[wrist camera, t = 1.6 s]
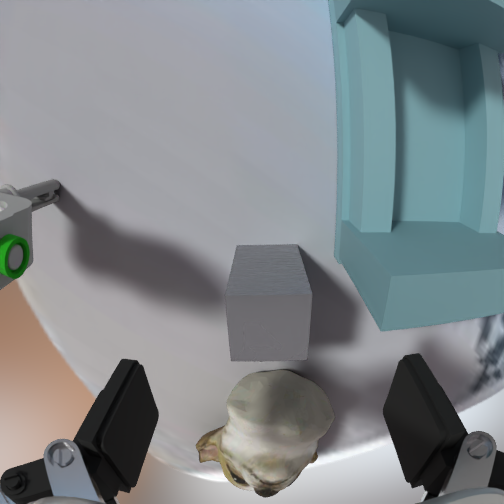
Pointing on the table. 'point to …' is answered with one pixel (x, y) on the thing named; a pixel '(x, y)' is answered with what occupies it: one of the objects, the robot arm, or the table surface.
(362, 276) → the teal open frame
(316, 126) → the table surface
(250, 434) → the ceramic sculpture
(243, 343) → the brushed grey metal block
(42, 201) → the mechanical component
